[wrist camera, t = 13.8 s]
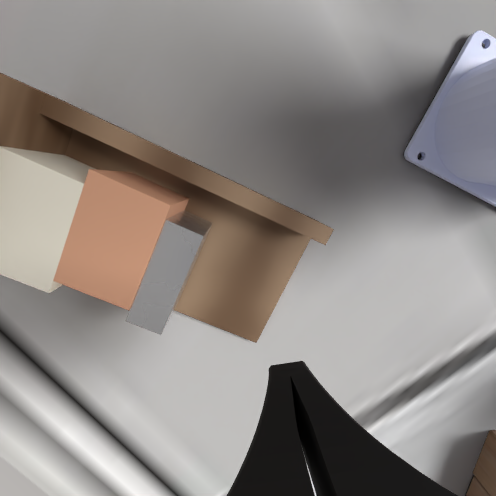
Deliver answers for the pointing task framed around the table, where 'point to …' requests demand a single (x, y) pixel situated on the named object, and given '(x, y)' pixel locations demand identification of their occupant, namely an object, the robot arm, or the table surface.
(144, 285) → the grey rectangular block
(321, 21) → the table surface
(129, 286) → the salmon orange block
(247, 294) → the wooden shelf
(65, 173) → the cream book
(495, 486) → the bookends
